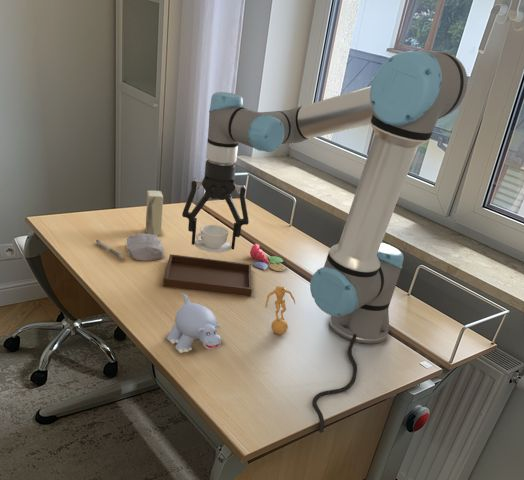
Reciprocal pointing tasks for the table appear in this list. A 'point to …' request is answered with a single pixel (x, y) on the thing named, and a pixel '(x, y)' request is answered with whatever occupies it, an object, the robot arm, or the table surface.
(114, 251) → the pen
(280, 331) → the figurine
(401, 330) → the table surface
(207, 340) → the hippopotamus toy
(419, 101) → the robot arm
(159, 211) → the box
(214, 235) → the teacup
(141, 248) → the stone block
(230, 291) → the tray
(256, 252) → the toy pieces
